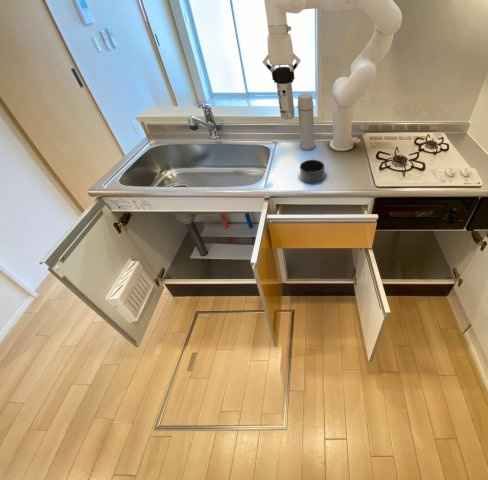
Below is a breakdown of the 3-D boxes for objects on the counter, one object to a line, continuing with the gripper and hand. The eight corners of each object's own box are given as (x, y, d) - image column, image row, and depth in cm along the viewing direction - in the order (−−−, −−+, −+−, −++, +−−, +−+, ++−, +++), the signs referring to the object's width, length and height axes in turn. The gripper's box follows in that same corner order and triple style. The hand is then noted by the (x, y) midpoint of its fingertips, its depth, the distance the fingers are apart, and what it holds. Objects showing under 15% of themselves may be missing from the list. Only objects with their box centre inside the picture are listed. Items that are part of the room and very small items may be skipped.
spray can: (279, 115, 129) (272, 67, 114) (292, 112, 130) (287, 65, 116) (282, 120, 124) (276, 71, 110) (296, 117, 126) (292, 69, 111)
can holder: (324, 170, 124) (324, 159, 120) (324, 183, 116) (324, 172, 112) (301, 170, 124) (300, 160, 120) (300, 184, 117) (299, 173, 113)
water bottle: (316, 149, 137) (314, 98, 119) (301, 151, 137) (297, 99, 119) (313, 141, 144) (311, 91, 126) (299, 143, 143) (295, 92, 125)
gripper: (300, 28, 106) (304, 78, 119) (257, 29, 106) (265, 79, 119) (299, 31, 101) (303, 83, 114) (254, 33, 101) (263, 85, 114)
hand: (283, 81), depth 116 cm, fingers closed on spray can, 6 cm apart
